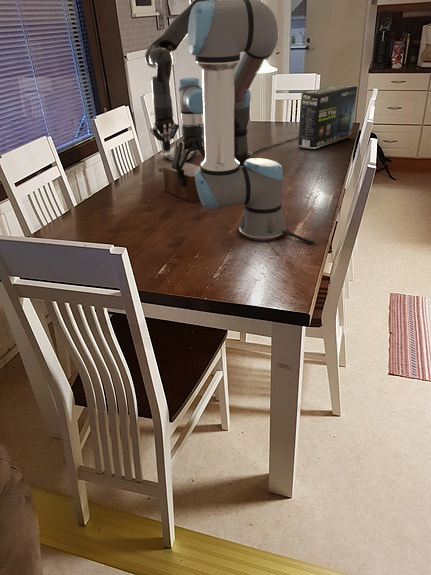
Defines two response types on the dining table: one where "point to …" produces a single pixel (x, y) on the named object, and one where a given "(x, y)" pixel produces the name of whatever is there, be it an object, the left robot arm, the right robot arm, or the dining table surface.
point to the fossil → (171, 154)
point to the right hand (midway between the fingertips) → (195, 182)
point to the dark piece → (164, 174)
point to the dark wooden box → (190, 185)
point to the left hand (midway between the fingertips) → (166, 150)
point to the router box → (326, 115)
